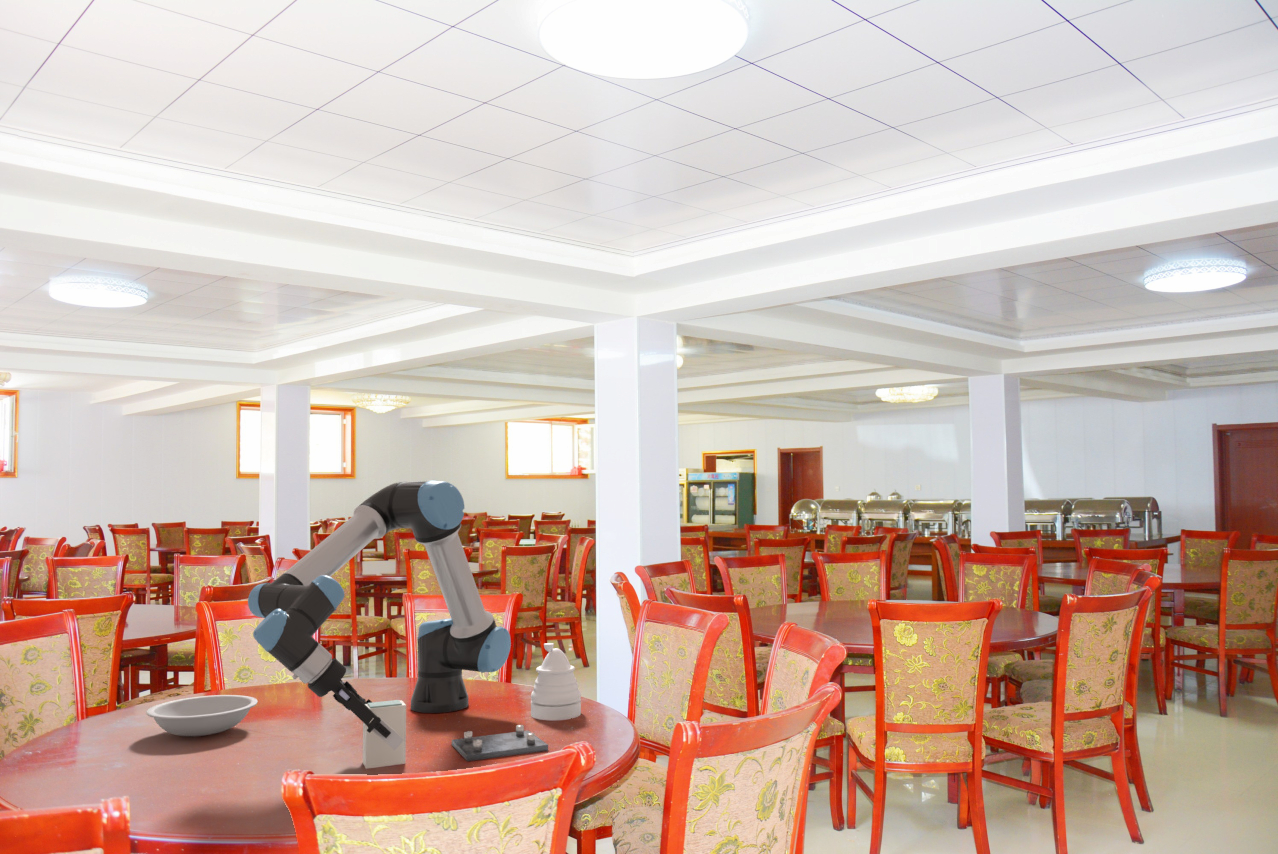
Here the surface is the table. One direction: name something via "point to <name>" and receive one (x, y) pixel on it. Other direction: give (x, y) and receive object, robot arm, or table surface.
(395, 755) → the block
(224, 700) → the soup bowl
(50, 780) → the table surface
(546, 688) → the honey pot
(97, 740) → the table surface
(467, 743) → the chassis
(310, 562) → the robot arm
